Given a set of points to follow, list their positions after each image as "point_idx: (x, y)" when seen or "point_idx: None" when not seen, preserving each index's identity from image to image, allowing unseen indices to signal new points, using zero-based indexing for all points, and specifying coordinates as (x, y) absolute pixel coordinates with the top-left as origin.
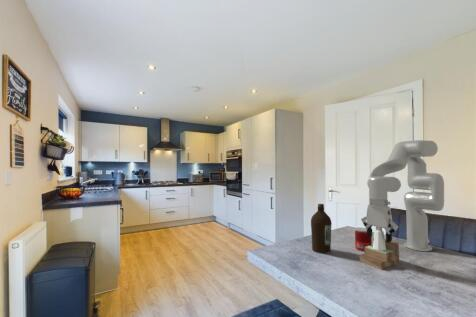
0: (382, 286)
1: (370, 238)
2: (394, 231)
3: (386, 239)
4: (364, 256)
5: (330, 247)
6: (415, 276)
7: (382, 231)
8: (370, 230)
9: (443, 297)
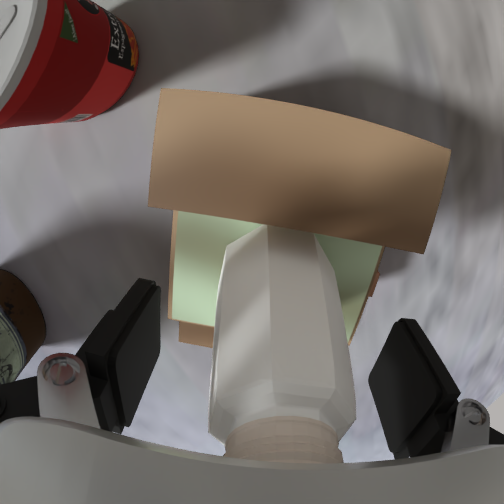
0: (348, 440)
1: (86, 42)
2: (501, 439)
3: (380, 404)
4: (209, 342)
5: (23, 312)
6: (452, 284)
7: (342, 434)
8: (128, 384)
9: (490, 369)
